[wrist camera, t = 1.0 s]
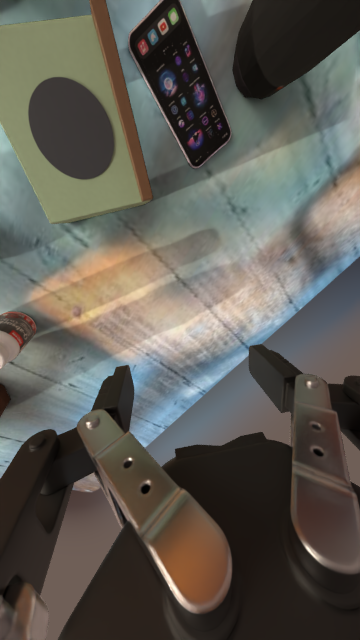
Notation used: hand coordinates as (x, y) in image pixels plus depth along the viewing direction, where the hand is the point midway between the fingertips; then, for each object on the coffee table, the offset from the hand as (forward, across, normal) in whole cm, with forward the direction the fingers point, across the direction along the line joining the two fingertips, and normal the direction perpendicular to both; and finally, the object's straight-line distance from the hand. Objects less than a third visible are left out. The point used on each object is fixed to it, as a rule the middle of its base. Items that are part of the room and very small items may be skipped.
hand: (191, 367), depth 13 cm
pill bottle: (+24, +27, +2) cm, 36 cm away
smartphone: (+24, -6, -27) cm, 36 cm away
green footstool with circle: (+23, +9, -21) cm, 32 cm away
